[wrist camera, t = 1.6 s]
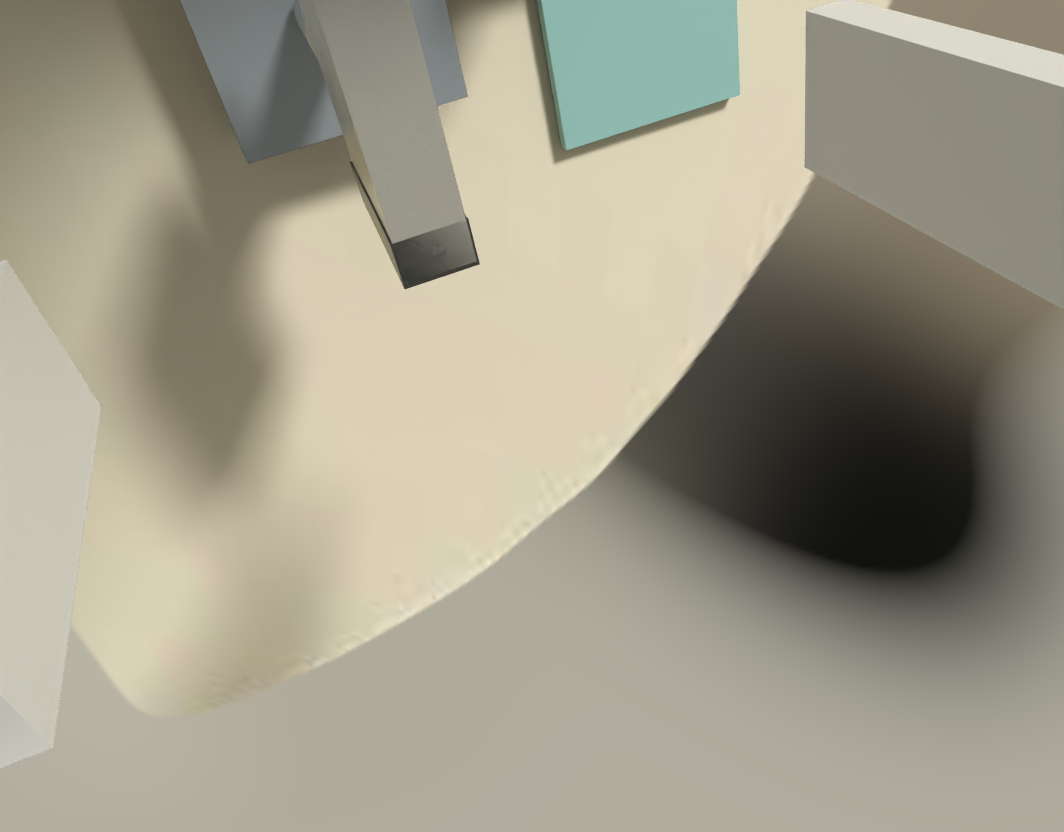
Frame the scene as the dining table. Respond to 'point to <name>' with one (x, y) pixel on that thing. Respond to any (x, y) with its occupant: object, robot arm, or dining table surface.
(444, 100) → the block
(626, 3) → the coaster
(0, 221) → the dining table surface
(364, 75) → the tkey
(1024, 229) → the robot arm
